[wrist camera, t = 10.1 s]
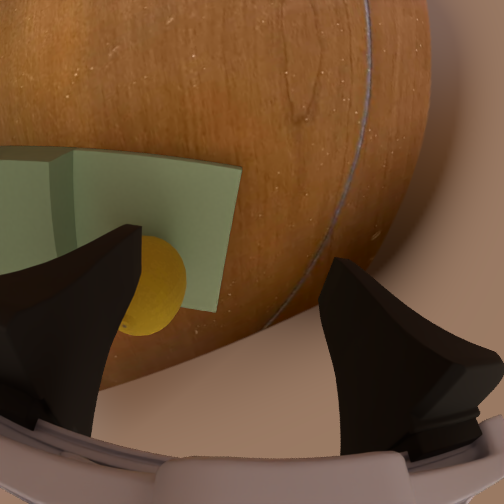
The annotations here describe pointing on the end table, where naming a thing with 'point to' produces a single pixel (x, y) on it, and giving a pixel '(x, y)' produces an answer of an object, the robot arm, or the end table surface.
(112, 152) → the step shelf
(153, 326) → the lemon
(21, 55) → the end table surface
